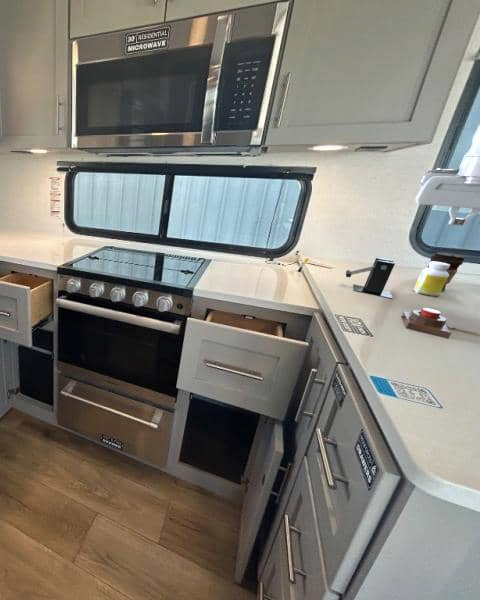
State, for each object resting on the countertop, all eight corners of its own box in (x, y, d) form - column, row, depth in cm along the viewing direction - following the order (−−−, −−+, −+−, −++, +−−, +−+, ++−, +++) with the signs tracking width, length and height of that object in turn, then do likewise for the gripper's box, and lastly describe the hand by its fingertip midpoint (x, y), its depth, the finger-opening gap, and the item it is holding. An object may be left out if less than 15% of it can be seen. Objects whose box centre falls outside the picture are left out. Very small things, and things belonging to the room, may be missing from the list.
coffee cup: (454, 295, 115) (474, 259, 110) (425, 291, 118) (443, 255, 113) (438, 287, 123) (456, 253, 118) (411, 283, 125) (427, 250, 120)
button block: (401, 316, 94) (406, 305, 93) (439, 325, 90) (445, 313, 89) (405, 328, 87) (411, 316, 86) (448, 338, 83) (455, 326, 81)
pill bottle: (441, 300, 109) (459, 267, 104) (417, 297, 111) (433, 264, 106) (430, 294, 115) (446, 262, 110) (407, 290, 117) (422, 259, 112)
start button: (418, 312, 90) (421, 306, 89) (436, 316, 88) (439, 310, 87) (420, 316, 87) (423, 310, 86) (439, 320, 85) (442, 314, 84)
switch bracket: (352, 293, 111) (366, 259, 106) (352, 287, 117) (365, 255, 112) (391, 301, 105) (407, 266, 101) (388, 294, 111) (404, 261, 107)
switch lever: (347, 279, 112) (344, 272, 112) (346, 275, 116) (344, 269, 115) (390, 269, 104) (388, 262, 104) (389, 266, 108) (386, 259, 108)
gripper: (429, 167, 86) (406, 221, 91) (552, 172, 75) (517, 232, 80) (424, 168, 91) (403, 218, 96) (539, 172, 80) (508, 229, 85)
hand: (456, 225), depth 88 cm, fingers closed
